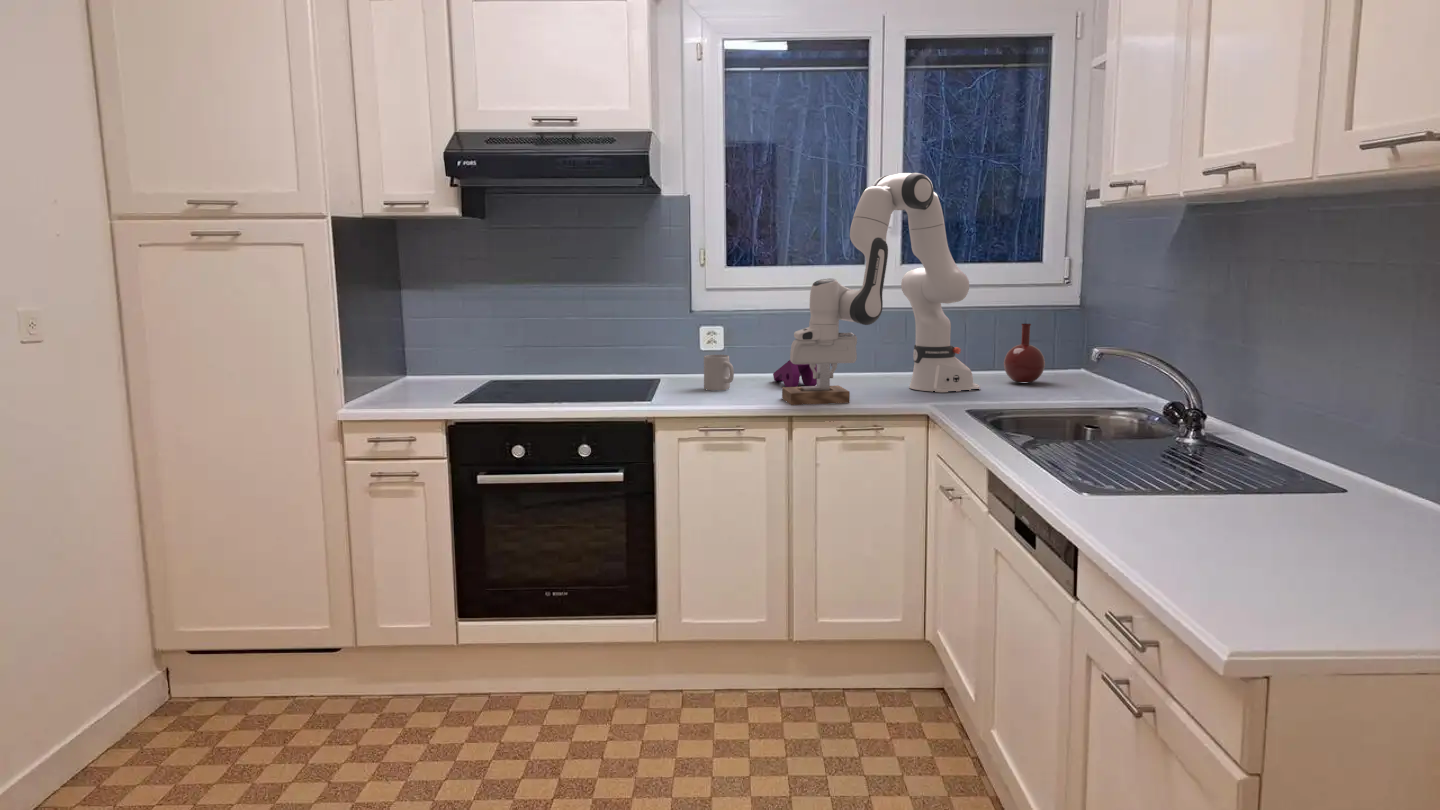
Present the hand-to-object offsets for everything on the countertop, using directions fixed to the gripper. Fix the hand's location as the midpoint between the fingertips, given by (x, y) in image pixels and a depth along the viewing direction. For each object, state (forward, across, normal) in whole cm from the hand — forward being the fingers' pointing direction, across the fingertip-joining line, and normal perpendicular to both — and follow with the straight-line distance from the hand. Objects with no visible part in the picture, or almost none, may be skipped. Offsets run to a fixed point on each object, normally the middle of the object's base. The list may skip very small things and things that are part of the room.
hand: (823, 378), depth 299 cm
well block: (+7, +2, 0) cm, 7 cm away
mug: (+7, +27, -27) cm, 39 cm away
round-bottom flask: (+7, -75, -19) cm, 77 cm away
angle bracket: (+4, +2, 0) cm, 5 cm away
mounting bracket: (+7, +1, -33) cm, 34 cm away
